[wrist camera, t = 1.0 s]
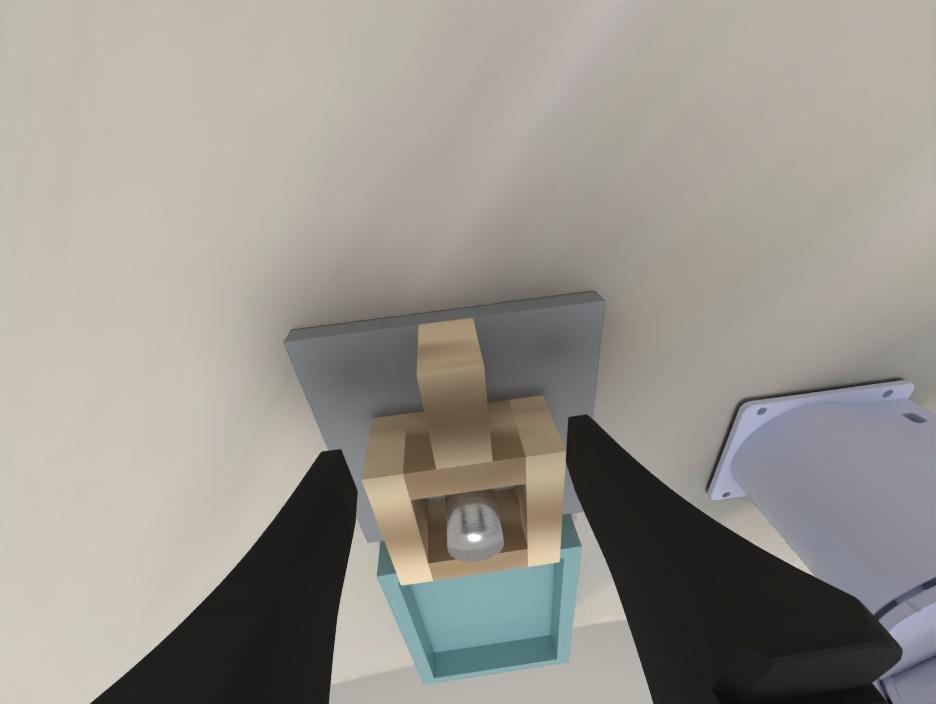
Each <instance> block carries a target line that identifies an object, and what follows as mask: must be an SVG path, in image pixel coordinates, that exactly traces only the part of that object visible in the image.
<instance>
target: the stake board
mask: <svg viewBox="0 0 936 704" xmlns="http://www.w3.org/2000/svg"><path fill="white" fill-rule="evenodd" d="M604 304H605V300H604V299H603V298H602V297H601V296H600V295H599V294H598V293H597V292H596V291H592V292H584V293H576V294H568V295H561V296H553V297H545V298H537V299H530V300H522V301H514V302H506V303H498V304H491V305H483V306H475V307H467V308H460V309H452V310H444V311H436V312H429V313H421V314H413V315H405V316H398V317H390V318H382V319H374V320H367V321H359V322H351V323H343V324H336V325H328V326H320V327H312V328H305V329H297V330H291V331H290V332H289V334H288V336H287V337H286V339H285V340H284V342H283V343H284V345H285V348H286V350H287V352H288V355H289V357H290V360H291V362H292V364H293V367H294V369H295V372H296V374H297V376H298V379H299V381H300V383H301V386H302V388H303V391H304V393H305V395H306V398H307V400H308V402H309V405H310V407H311V410H312V412H313V414H314V417H315V419H316V421H317V424H318V426H319V429H320V431H321V433H322V436H323V438H324V441H325V443H326V445H327V448H328V450H329V451H330V450H337V449H341V450H342V452H343V455H344V457H345V460H346V462H347V465H348V467H349V470H350V472H351V475H352V477H353V480H354V482H355V485H356V488H357V490H358V497H357V511H356V517H357V519H358V521H359V524H360V526H361V529H362V531H363V533H364V536H365V538H366V540H367V543H370V542H377V541H384V539H383V536H382V533H381V531H380V528H379V525H378V523H377V520H376V517H375V515H374V512H373V509H372V507H371V504H370V501H369V499H368V496H367V493H366V491H365V488H364V486H363V483H362V480H361V479H362V474H363V468H364V463H365V457H366V451H367V446H368V440H369V435H370V429H371V423H372V418H378V417H386V416H393V415H400V414H408V413H415V412H422V411H424V408H423V403H422V399H421V394H420V389H419V384H418V380H417V353H418V327H419V325H421V324H429V323H436V322H444V321H452V320H460V319H467V318H473V320H474V324H475V329H476V333H477V337H478V342H479V346H480V351H481V355H482V359H483V364H484V370H485V381H486V393H487V403H489V402H496V401H504V400H511V399H518V398H526V397H533V396H540V395H543V396H544V399H545V401H546V403H547V406H548V408H549V411H550V413H551V416H552V418H553V420H554V423H555V425H556V428H557V430H558V432H559V435H560V437H561V440H562V442H563V444H564V447H565V449H566V445H567V429H568V417H571V416H578V415H585V414H587V415H589V416H590V417H591V418H592V416H593V407H594V398H595V388H596V379H597V369H598V360H599V351H600V341H601V332H602V323H603V313H604ZM512 488H514V486H507V487H500V488H493V489H486V490H479V491H472V492H465V493H458V494H451V495H444V496H436V497H429V498H428V500H435V499H442V498H445V504H446V525H447V546H448V552H449V554H450V555H451V556H452V557H453V558H455V559H457V560H460V561H465V562H478V561H483V560H486V559H489V558H491V557H493V556H495V555H497V554H498V553H499V552H500V551H501V550H502V548H503V546H504V539H503V534H502V528H501V523H500V517H499V512H498V506H497V501H496V495H495V491H498V490H505V489H512ZM582 510H583V508H582V506H581V504H580V502H579V499H578V497H577V495H576V492H575V490H574V487H573V484H572V481H571V477H570V474H569V471H568V468H567V464H566V465H565V481H564V497H563V514H562V515H564V514H571V513H578V512H582Z"/></svg>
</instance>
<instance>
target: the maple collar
mask: <svg viewBox="0 0 936 704" xmlns="http://www.w3.org/2000/svg"><path fill="white" fill-rule="evenodd" d="M417 380H418V384H419V389H420V394H421V399H422V403H423V408H424V411H422V412H415V413H408V414H400V415H393V416H386V417H378V418H372V423H371V429H370V435H369V440H368V446H367V451H366V457H365V463H364V468H363V474H362V479H361V480H362V483H363V486H364V488H365V491H366V493H367V496H368V499H369V501H370V504H371V507H372V509H373V512H374V515H375V517H376V520H377V523H378V525H379V528H380V531H381V533H382V536H383V539H384V541H385V544H386V547H387V549H388V552H389V555H390V557H391V560H392V563H393V565H394V568H395V571H396V573H397V576H398V578H399V581H400V584H401V586H402V585H409V584H416V583H422V582H429V581H436V580H443V579H450V578H456V577H463V576H470V575H477V574H483V573H490V572H497V571H504V570H511V569H517V568H524V567H531V566H538V565H544V564H551V563H558V562H560V546H561V530H562V514H563V497H564V481H565V465H566V449H565V447H564V444H563V442H562V440H561V437H560V435H559V432H558V430H557V428H556V425H555V423H554V420H553V418H552V416H551V413H550V411H549V408H548V406H547V403H546V401H545V399H544V396H543V395H540V396H533V397H526V398H518V399H511V400H504V401H496V402H489V403H487V393H486V381H485V370H484V364H483V359H482V355H481V351H480V346H479V342H478V337H477V333H476V329H475V324H474V320H473V318H467V319H460V320H452V321H444V322H436V323H429V324H421V325H419V327H418V353H417ZM507 486H514V488H512V489H505V490H498V491H495V495H496V501H497V506H498V512H499V517H500V523H501V528H502V534H503V539H504V546H503V548H502V550H501V551H500V552H499V553H498V554H497V555H495V556H493V557H491V558H489V559H486V560H483V561H478V562H465V561H460V560H457V559H455V558H453V557H452V556H451V555H450V554H449V552H448V546H447V525H446V504H445V498H442V499H435V500H428V498H429V497H436V496H444V495H451V494H458V493H465V492H472V491H479V490H486V489H493V488H500V487H507Z"/></svg>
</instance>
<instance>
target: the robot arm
mask: <svg viewBox="0 0 936 704" xmlns="http://www.w3.org/2000/svg"><path fill="white" fill-rule="evenodd" d="M914 388H915V386H914V384H912V383H911V382H909V381H907V380H901V381H893V382H886V383H879V384H872V385H864V386H857V387H850V388H843V389H835V390H828V391H821V392H814V393H807V394H799V395H792V396H785V397H778V398H770V399H763V400H756V401H749V402H746V403H744V404H743V405H742V406H741V407H740V408H739V411H738V413H737V416H736V419H735V421H734V424H733V427H732V429H731V432H730V435H729V437H728V440H727V442H726V445H725V448H724V450H723V453H722V456H721V458H720V461H719V464H718V466H717V469H716V471H715V474H714V477H713V479H712V482H711V485H710V487H709V490H708V495H709V497H710V498H711V499H712V500H722V499H729V498H736V497H743V496H748V497H749V498H750V500H751V501H752V502H753V503H754V504H755V506H756V507H757V508H758V509H759V510H760V511H761V513H762V514H763V515H764V516H765V517H766V519H767V520H768V521H769V522H770V523H771V525H772V526H773V527H774V528H775V529H776V531H777V532H778V533H779V534H780V535H781V536H782V538H783V539H784V540H785V541H786V542H787V544H788V545H789V546H790V547H791V548H792V550H793V551H794V552H795V553H796V554H797V555H798V557H799V558H800V559H801V560H802V561H803V563H804V564H805V565H806V566H807V567H808V569H809V570H810V571H811V572H812V573H813V574H814V576H815V577H814V576H812V575H810V574H808V573H806V572H804V571H802V570H800V569H798V568H796V567H794V566H792V565H790V564H789V563H787V562H785V561H783V560H781V559H779V558H778V557H776V556H774V555H772V554H770V553H768V552H767V551H765V550H763V549H761V548H760V547H758V546H756V545H754V544H753V543H751V542H749V541H748V540H746V539H745V538H743V537H741V536H740V535H738V534H736V533H735V532H733V531H731V530H730V529H728V528H727V527H725V526H723V525H722V524H720V523H718V522H717V521H715V520H714V519H712V518H711V517H709V516H708V515H706V514H705V513H703V512H702V511H700V510H699V509H698V508H696V507H695V506H693V505H692V504H691V503H689V502H688V501H686V500H685V499H684V498H682V497H681V496H680V495H678V494H677V493H676V492H674V491H673V490H672V489H670V488H669V487H668V486H667V485H665V484H664V483H663V482H662V481H660V480H659V479H658V478H657V477H655V476H654V475H653V474H652V473H651V472H649V471H648V470H647V469H646V468H645V467H643V466H642V465H641V464H640V463H639V462H638V461H637V460H635V459H634V458H633V457H632V456H631V455H630V454H629V453H628V452H626V451H625V450H624V449H623V448H622V447H621V446H620V445H619V444H618V443H617V442H616V441H615V440H614V439H613V438H611V437H610V436H609V435H608V434H607V433H606V432H605V431H604V430H603V429H602V428H601V427H600V426H599V425H598V424H597V423H596V422H595V421H594V420H593V419H592V418H591V417H590V416H589V415H587V414H585V415H578V416H571V417H568V429H567V445H566V464H567V468H568V471H569V474H570V477H571V481H572V484H573V487H574V490H575V492H576V495H577V497H578V499H579V502H580V504H581V506H582V508H583V511H584V513H585V515H586V517H587V519H588V522H589V524H590V526H591V528H592V531H593V533H594V535H595V537H596V539H597V542H598V544H599V546H600V548H601V551H602V553H603V555H604V557H605V559H606V562H607V564H608V567H609V569H610V572H611V574H612V577H613V580H614V583H615V586H616V589H617V591H618V594H619V597H620V600H621V603H622V606H623V609H624V612H625V615H626V618H627V621H628V624H629V627H630V630H631V633H632V636H633V639H634V642H635V645H636V648H637V652H638V655H639V658H640V661H641V664H642V668H643V671H644V674H645V677H646V680H647V683H648V687H649V690H650V693H651V697H652V700H653V704H936V415H935V414H933V413H932V412H930V411H928V410H926V409H925V408H923V407H921V406H920V405H918V404H916V403H915V402H913V401H911V400H910V399H908V398H909V396H910V395H911V393H912V392H913V390H914ZM357 497H358V490H357V488H356V485H355V482H354V480H353V477H352V475H351V472H350V470H349V467H348V465H347V462H346V460H345V457H344V455H343V452H342V450H341V449H337V450H330V451H323V452H321V453H320V454H319V456H318V457H317V459H316V460H315V462H314V463H313V464H312V466H311V467H310V469H309V470H308V472H307V473H306V475H305V476H304V478H303V479H302V481H301V482H300V484H299V485H298V486H297V488H296V489H295V491H294V492H293V494H292V495H291V496H290V498H289V499H288V501H287V502H286V503H285V505H284V506H283V507H282V509H281V510H280V512H279V513H278V514H277V516H276V517H275V518H274V520H273V521H272V522H271V524H270V525H269V526H268V527H267V529H266V530H265V531H264V533H263V534H262V535H261V536H260V538H259V539H258V540H257V541H256V543H255V544H254V545H253V546H252V548H251V549H250V550H249V551H248V552H247V554H246V555H245V556H244V557H243V558H242V560H241V561H240V562H239V563H238V564H237V565H236V566H235V568H234V569H233V570H232V571H231V572H230V573H229V574H228V575H227V577H226V578H225V579H224V580H223V581H222V582H221V583H220V584H219V585H218V586H217V587H216V588H215V589H214V591H213V592H212V593H211V594H210V595H209V596H208V597H207V598H206V599H205V600H204V601H203V602H202V603H201V604H200V605H199V606H198V607H197V608H196V609H195V610H194V611H193V612H192V613H191V614H190V615H189V616H188V617H187V618H186V619H185V620H184V621H183V622H182V623H181V624H180V625H179V626H178V627H177V628H176V629H175V630H174V631H172V632H171V633H170V634H169V635H168V636H167V637H166V638H165V639H164V640H163V641H162V642H161V643H160V644H159V645H157V646H156V647H155V648H154V649H153V650H152V651H151V652H150V653H149V654H147V655H146V656H145V657H144V658H143V659H142V660H141V661H140V662H139V663H137V664H136V665H135V666H134V667H133V668H132V669H131V670H129V671H128V672H127V673H126V674H125V675H124V676H123V677H121V678H120V679H119V680H118V681H117V682H115V683H114V684H113V685H112V686H111V687H109V688H108V689H107V690H106V691H105V692H103V693H102V694H101V695H100V696H99V697H97V698H96V699H95V700H94V701H93V702H91V703H90V704H329V694H330V684H331V673H332V662H333V652H334V643H335V633H336V624H337V616H338V610H339V604H340V598H341V593H342V588H343V583H344V578H345V573H346V568H347V563H348V559H349V554H350V549H351V544H352V539H353V533H354V528H355V522H356V511H357Z"/></svg>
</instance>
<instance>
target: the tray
mask: <svg viewBox="0 0 936 704" xmlns="http://www.w3.org/2000/svg"><path fill="white" fill-rule="evenodd" d="M581 548H582V546H581V543H580V540H579V537H578V535H577V532H576V529H575V526H574V524H573V521H572V518H571V515H570V514H564V515H562V530H561V546H560V562H558V563H551V564H544V565H538V566H531V567H524V568H517V569H511V570H504V571H497V572H490V573H483V574H477V575H470V576H463V577H456V578H450V579H443V580H436V581H429V582H422V583H416V584H409V585H402V586H401V584H400V581H399V578H398V576H397V573H396V571H395V568H394V565H393V563H392V560H391V557H390V555H389V552H388V549H387V547H386V544H385V541H381V543H380V552H379V561H378V571H377V578H378V580H379V582H380V585H381V587H382V589H383V592H384V594H385V596H386V599H387V601H388V603H389V605H390V608H391V610H392V612H393V615H394V617H395V619H396V622H397V624H398V626H399V629H400V631H401V633H402V636H403V638H404V640H405V642H406V645H407V647H408V649H409V652H410V654H411V656H412V659H413V661H414V663H415V666H416V668H417V670H418V672H419V675H420V677H421V679H422V682H423V684H424V685H426V684H432V683H438V682H445V681H451V680H458V679H464V678H470V677H477V676H484V675H490V674H496V673H503V672H510V671H516V670H522V669H528V668H535V667H542V666H548V665H555V664H561V663H568V662H569V652H570V644H571V634H572V627H573V618H574V609H575V600H576V592H577V583H578V574H579V565H580V557H581Z"/></svg>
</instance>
